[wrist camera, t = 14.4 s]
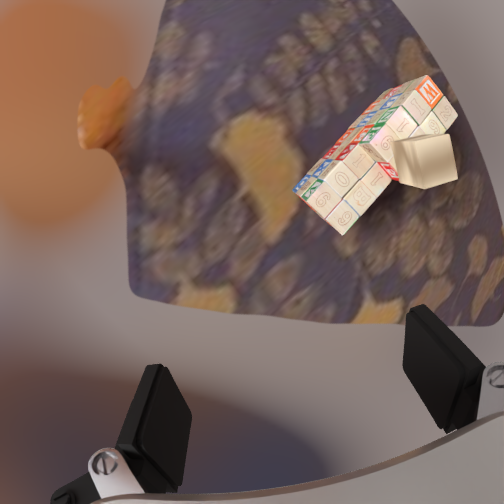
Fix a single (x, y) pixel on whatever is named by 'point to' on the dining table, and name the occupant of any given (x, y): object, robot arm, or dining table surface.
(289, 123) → the dining table surface
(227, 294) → the dining table surface
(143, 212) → the dining table surface
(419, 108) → the stack of blocks
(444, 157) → the tan metal block
